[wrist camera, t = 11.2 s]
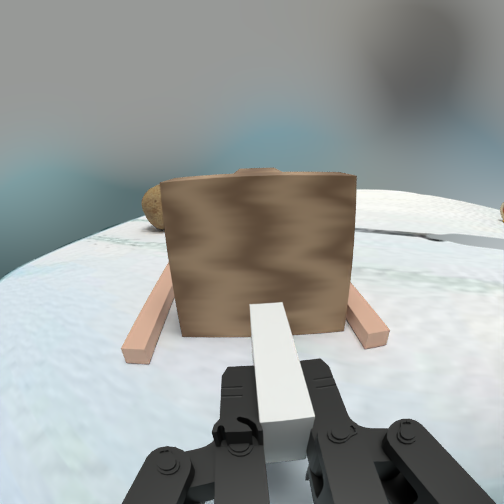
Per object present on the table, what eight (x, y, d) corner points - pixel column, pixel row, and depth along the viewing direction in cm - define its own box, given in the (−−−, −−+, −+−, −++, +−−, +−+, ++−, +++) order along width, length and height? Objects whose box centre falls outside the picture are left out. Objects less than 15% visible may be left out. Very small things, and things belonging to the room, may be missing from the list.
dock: (321, 259, 39) (322, 249, 38) (386, 344, 20) (389, 330, 20) (172, 268, 38) (171, 258, 38) (126, 362, 19) (121, 348, 19)
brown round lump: (169, 222, 66) (165, 182, 63) (192, 225, 61) (189, 181, 58) (138, 231, 59) (133, 188, 56) (160, 236, 54) (155, 187, 51)
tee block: (313, 269, 36) (315, 167, 32) (343, 330, 23) (356, 175, 18) (206, 272, 36) (197, 171, 32) (182, 336, 23) (159, 182, 19)
